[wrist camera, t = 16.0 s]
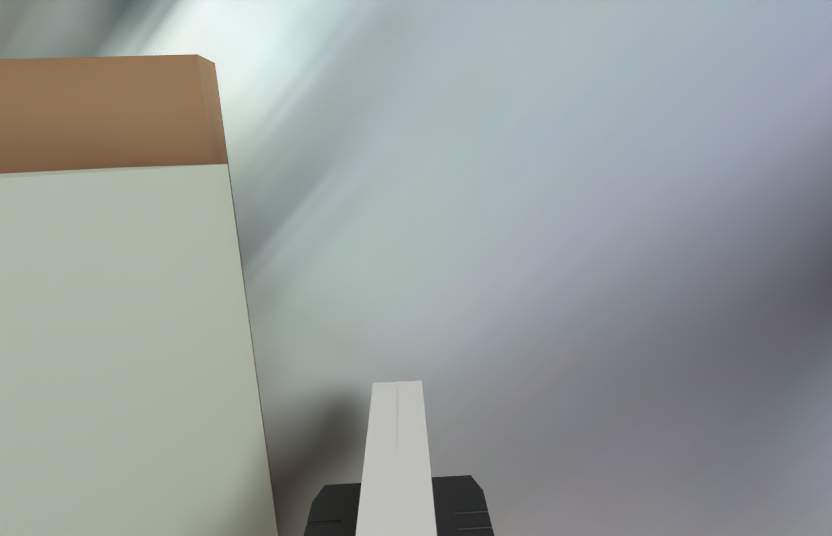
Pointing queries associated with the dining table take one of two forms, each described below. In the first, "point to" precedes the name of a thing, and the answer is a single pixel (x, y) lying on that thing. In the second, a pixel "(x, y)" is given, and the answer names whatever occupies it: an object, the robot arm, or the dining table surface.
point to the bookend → (127, 358)
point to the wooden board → (111, 116)
